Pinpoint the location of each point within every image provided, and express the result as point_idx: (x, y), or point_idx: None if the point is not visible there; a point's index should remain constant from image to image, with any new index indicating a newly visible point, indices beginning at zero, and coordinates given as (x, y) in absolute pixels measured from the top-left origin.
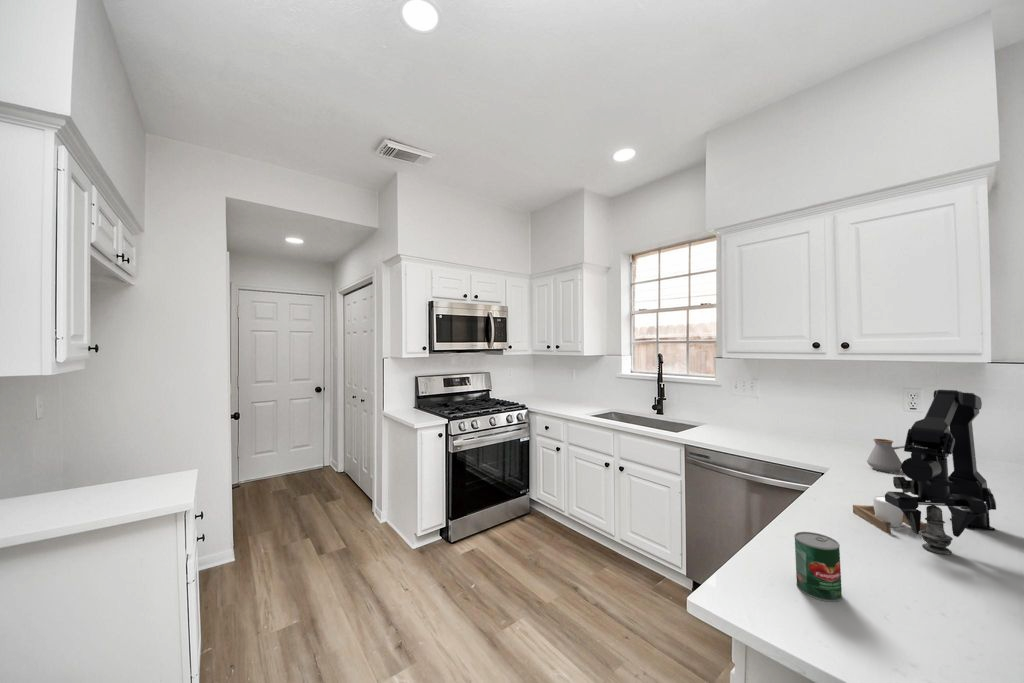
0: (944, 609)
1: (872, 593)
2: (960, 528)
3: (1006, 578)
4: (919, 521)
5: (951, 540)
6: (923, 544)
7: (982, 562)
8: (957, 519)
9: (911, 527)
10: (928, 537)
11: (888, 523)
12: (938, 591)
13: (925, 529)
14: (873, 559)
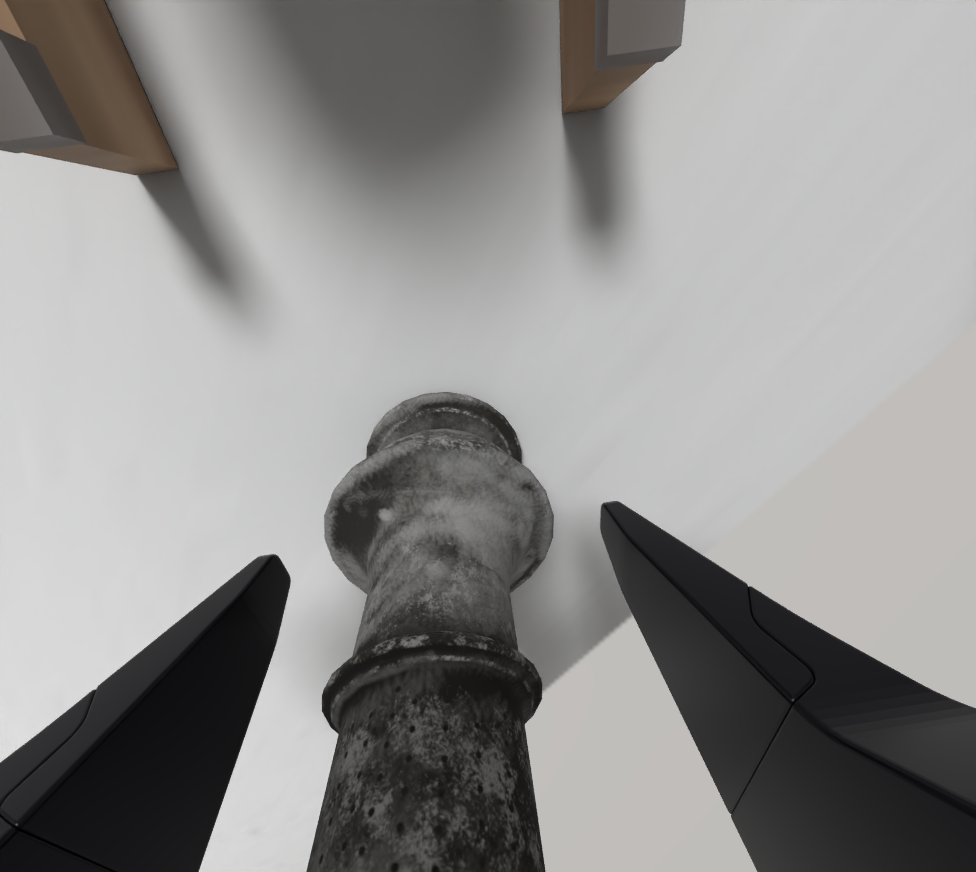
0: (265, 820)
1: None
2: (650, 646)
3: (574, 643)
4: (209, 808)
5: (510, 588)
6: (384, 424)
7: (601, 538)
8: (726, 724)
9: (213, 600)
10: (361, 586)
11: (39, 140)
12: (280, 771)
13: (579, 19)
14: (68, 670)
